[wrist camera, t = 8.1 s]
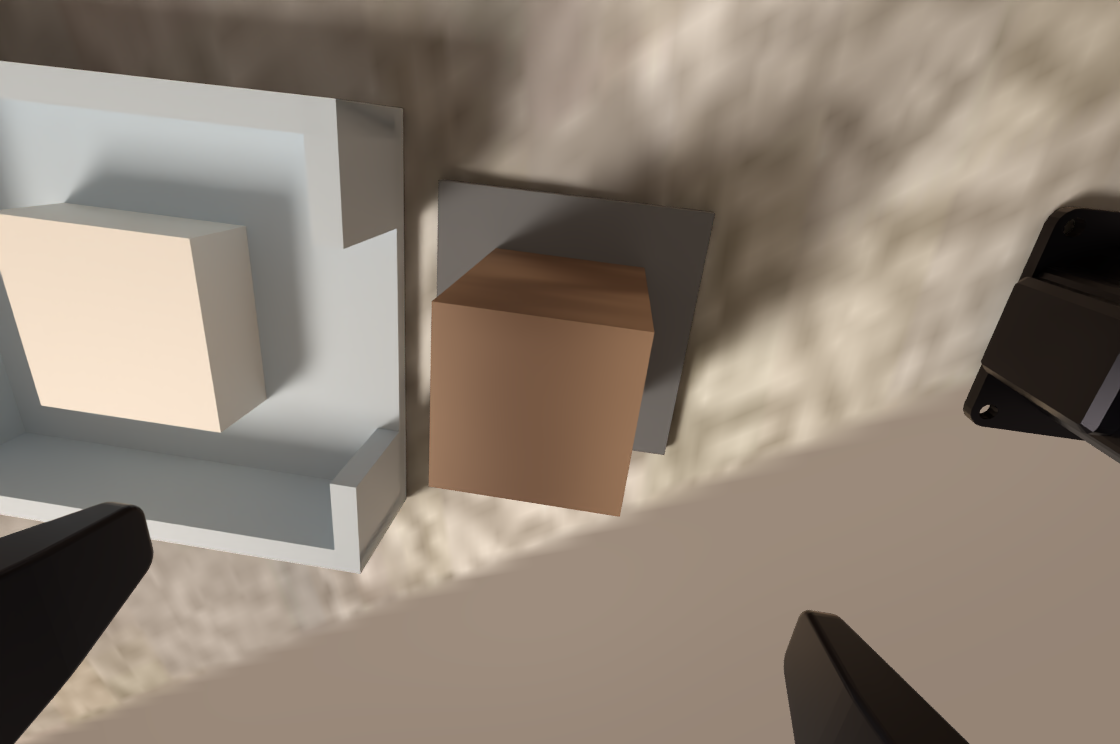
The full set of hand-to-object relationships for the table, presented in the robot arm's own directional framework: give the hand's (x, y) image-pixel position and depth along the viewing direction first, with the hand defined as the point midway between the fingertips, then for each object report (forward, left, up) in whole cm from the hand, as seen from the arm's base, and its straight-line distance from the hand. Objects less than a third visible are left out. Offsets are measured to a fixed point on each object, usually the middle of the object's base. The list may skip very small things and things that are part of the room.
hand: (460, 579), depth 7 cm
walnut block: (0, 0, -11) cm, 11 cm away
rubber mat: (0, 0, -11) cm, 11 cm away
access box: (+13, +1, -11) cm, 17 cm away
